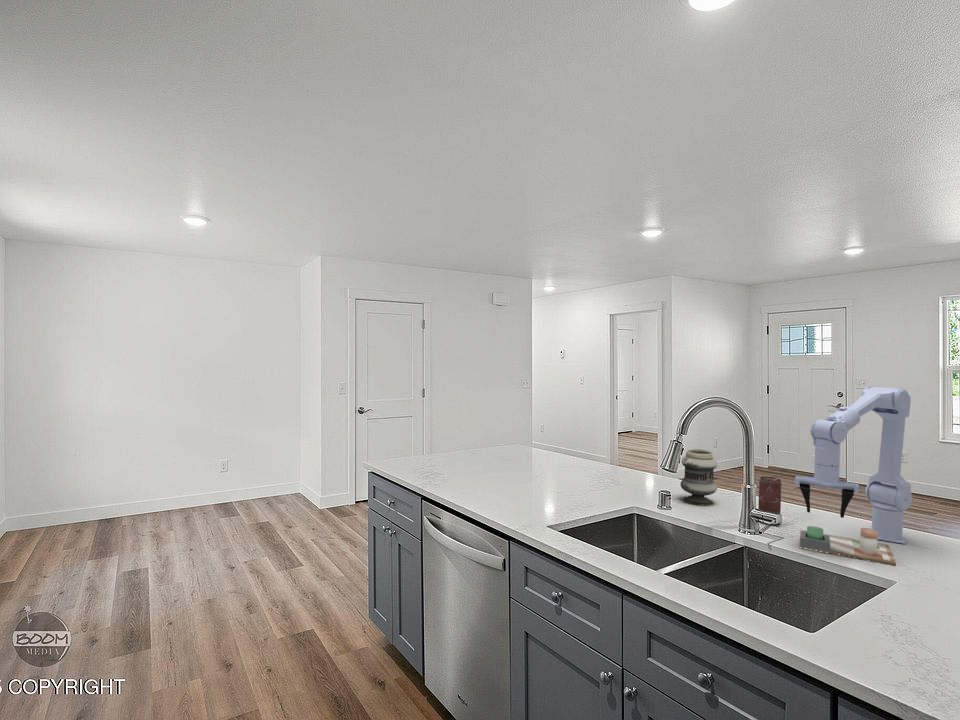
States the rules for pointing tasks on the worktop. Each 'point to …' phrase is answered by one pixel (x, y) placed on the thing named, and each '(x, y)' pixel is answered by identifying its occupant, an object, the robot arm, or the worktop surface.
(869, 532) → the marker
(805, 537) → the button housing
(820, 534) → the button
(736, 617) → the worktop surface
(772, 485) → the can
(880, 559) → the board
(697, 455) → the apothecary jar
